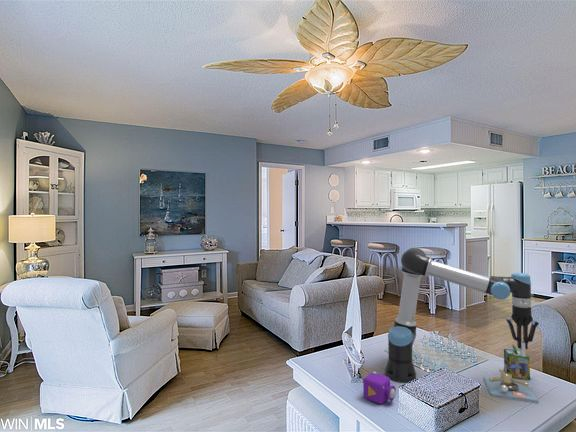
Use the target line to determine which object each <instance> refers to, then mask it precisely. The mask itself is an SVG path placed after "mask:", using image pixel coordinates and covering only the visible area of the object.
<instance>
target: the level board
mask: <svg viewBox="0 0 576 432" xmlns="http://www.w3.org/2000/svg"><path fill="white" fill-rule="evenodd" d="M489 378H492V377H489V376H482V379H483V382H484V384H485V386H486V388H487V390H488V393H489V395H490V397H494V398H499V399H509V400H515V401H521V402H528V403H534V404H539V403H540V402H539V398H537V396H536V395H535V394H534V392H533V391H532V389H531V388H530V385H529V386H528V387H526V386H524V385H520V384H517V383H515V384H517V385H518V390H515V391H513V390H508V391H507V392H503V391H502V390H501V389H500V386H501V385H500V382H501V381H494V382H490V381H489ZM513 383H514V382H513Z"/></svg>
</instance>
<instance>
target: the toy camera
mask: <svg viewBox="0 0 576 432" xmlns="http://www.w3.org/2000/svg"><path fill="white" fill-rule="evenodd" d="M362 388H363V397H364V398H365V399H366V400H369V401H371V402H374V403H376V404H378V405H379V404H380V405H382V404H384V403H385V402H386V401H387V400H389V401H390V402H393V401H394V399H395V397H396V392H397V390H396V386H395V385H391V379H390V378H389V377H387V376H386V375H385V374H380V373H377V371H372V372H371V373H370V374H368V375H366V376H365V377H364V378H363V387H362Z"/></svg>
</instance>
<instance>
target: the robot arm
mask: <svg viewBox="0 0 576 432" xmlns="http://www.w3.org/2000/svg"><path fill="white" fill-rule="evenodd" d="M400 263H401V273H402V274H403V278H402V286H401V293H400V300H399V306H398V314H397V317H395V318H394V322H393V327H391V328H389V329H388V333H387V339H388V343H387V344H388V346H387V347H388V349H387V350H388V351H387V352H388V359H387V363H386V365H385V369H384V372H385V373H384V376H387V377H389V378H390V381H394V382H398V383H406V382H407V383H410V382H409V381H412V380H414V379H416V380H417V371H416V369H415V366H414V362H413V346H414V343H415V341H416V338H417V327H418V323H417V322H416V321H415V320H416V319H415V318H416V313H417V305H418V298H419V292H420V284H421V278H423V277H427V276H430V277H433V278H436V279H437V278H438V279H440V280H443V281H445V282H449V283H452V284H456V285H459V286H462V287H464V288H468V289H471V290H474V291H478V292H481V293H484V294H487V295H490V296H492V297H494V298H495V299H498V300H505V299H507V298H509V296H510V295H511V304H512V305H511V311H512V312H511V316H510V318H506V319H505V320H506V322H507V323H508V327H509V329H510V334H511V337H512V339H513V340H514V341H516V342H517V344H516V345H517V346H516V347H517V349H518V350H520V355H521V356H523V357H526V355H525V353H526V350H528V347H529V346H528V345H529V343H532V342H533V341H534V337H535V332H536V329H537V327H538V326H539V324H540V322H538V321H537V320H534V318H533V317H532V307H531V306H532V286H531V285H532V283H531V276H530V275H529V274H528V273H525V272H512V273H511V275H510V276H495V275H482V274H478V273H476V272H472V271H469V270H465V269H462V268H458V267H456V266H452V265H448V264H446V263H443V262H438V261H435V260H433V259H432V257H429V256H427V255H426V252H425V251H423V250H422V248H419V247H411V248H408V249H407V250H406V251H405V252H403V253H402V255H401V257H400ZM513 322H514V323H515V324H516V325H515V326H516V330H515V328H514V324H513ZM530 324H531V325H530ZM529 325H530V329H529V331H528V328H529ZM522 332H523V333H522ZM522 337H523V338H522ZM407 383H406V384H407Z"/></svg>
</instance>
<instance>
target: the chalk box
mask: <svg viewBox="0 0 576 432" xmlns="http://www.w3.org/2000/svg"><path fill="white" fill-rule="evenodd" d="M511 345H512V348H503V361H504V362H503V366H504V367H503V370H504V372H509V373H511V374H512V378H513V379H525V380H531V369H530V367H531V366H530V356H529V355H528V354H527V353H526V352H525V355H526V357H523V356H521V355H520V349H517V347H516V346H515V345H514V344H511Z"/></svg>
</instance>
